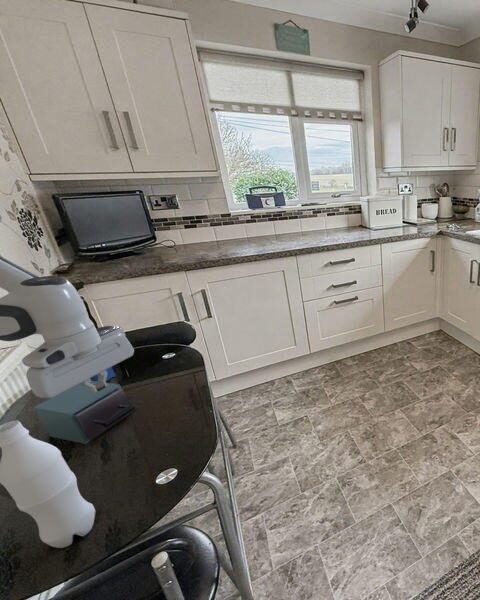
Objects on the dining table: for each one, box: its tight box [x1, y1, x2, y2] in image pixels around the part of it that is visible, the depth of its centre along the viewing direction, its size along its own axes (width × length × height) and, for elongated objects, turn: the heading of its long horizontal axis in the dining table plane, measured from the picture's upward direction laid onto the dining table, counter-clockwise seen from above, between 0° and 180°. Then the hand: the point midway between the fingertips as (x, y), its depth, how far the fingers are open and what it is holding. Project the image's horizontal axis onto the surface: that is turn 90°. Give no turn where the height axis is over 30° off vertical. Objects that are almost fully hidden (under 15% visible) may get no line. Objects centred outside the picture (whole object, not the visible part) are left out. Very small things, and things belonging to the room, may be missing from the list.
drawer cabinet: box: [32, 380, 122, 445], centre depth 89 cm, size 14×12×10 cm
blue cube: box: [90, 366, 116, 382], centre depth 112 cm, size 4×4×4 cm
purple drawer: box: [74, 388, 135, 441], centre depth 87 cm, size 17×11×8 cm, turn 74°
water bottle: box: [0, 420, 96, 549], centre depth 56 cm, size 7×7×25 cm
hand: (99, 389), depth 83 cm, fingers closed
